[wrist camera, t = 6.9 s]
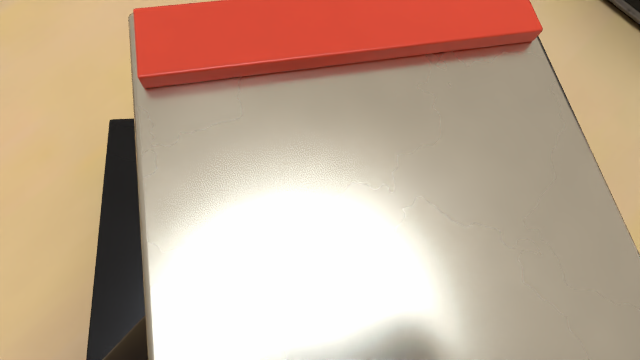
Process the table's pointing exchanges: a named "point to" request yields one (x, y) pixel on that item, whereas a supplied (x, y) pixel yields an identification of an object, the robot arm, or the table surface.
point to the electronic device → (629, 8)
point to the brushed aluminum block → (370, 187)
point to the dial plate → (117, 247)
